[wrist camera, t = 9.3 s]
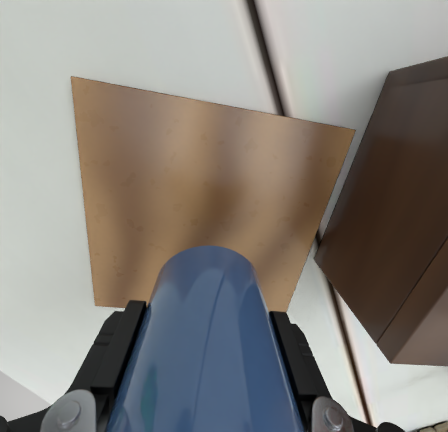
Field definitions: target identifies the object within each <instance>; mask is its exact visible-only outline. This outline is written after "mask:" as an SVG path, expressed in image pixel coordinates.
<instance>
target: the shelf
mask: <svg viewBox="0 0 448 432" xmlns="http://www.w3.org/2000/svg"><path fill="white" fill-rule="evenodd" d="M314 260H315V262H316V263H317V264H318V266H319V267H320V268H321V270H322V271H323V273H324V274H325V275H326V277H327V278H328V279H329V281H330V282H331V283H332V285H333V286H334V288H335V289H336V290H337V292H338V293H339V294H340V296H341V297H342V298H343V300H344V301H345V303H346V304H347V305H348V307H349V308H350V309H351V311H352V312H353V313H354V315H355V316H356V318H357V319H358V320H359V322H360V323H361V324H362V326H363V327H364V328H365V330H366V331H367V333H368V334H369V335H370V337H371V338H372V339H373V341H374V342H375V343H376V344H377V346H378V347H379V349H380V350H381V352H382V353H383V354H384V356H385V357H386V358H387V360H388V361H389V362H390V363H391V364H411V365H432V366H448V56H447V57H443V58H439V59H436V60H432V61H428V62H424V63H420V64H416V65H413V66H409V67H405V68H401V69H397V70H393V71H390V72H389V74H388V77H387V79H386V81H385V84H384V86H383V89H382V92H381V94H380V97H379V99H378V102H377V104H376V107H375V109H374V112H373V114H372V117H371V119H370V122H369V124H368V127H367V129H366V132H365V134H364V137H363V139H362V142H361V144H360V147H359V149H358V151H357V154H356V156H355V159H354V161H353V164H352V166H351V169H350V171H349V174H348V176H347V179H346V181H345V184H344V186H343V189H342V191H341V194H340V196H339V199H338V201H337V204H336V206H335V209H334V211H333V214H332V216H331V219H330V221H329V224H328V226H327V229H326V231H325V234H324V236H323V239H322V241H321V244H320V246H319V248H318V251H317V253H316V256H315V258H314Z"/></svg>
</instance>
